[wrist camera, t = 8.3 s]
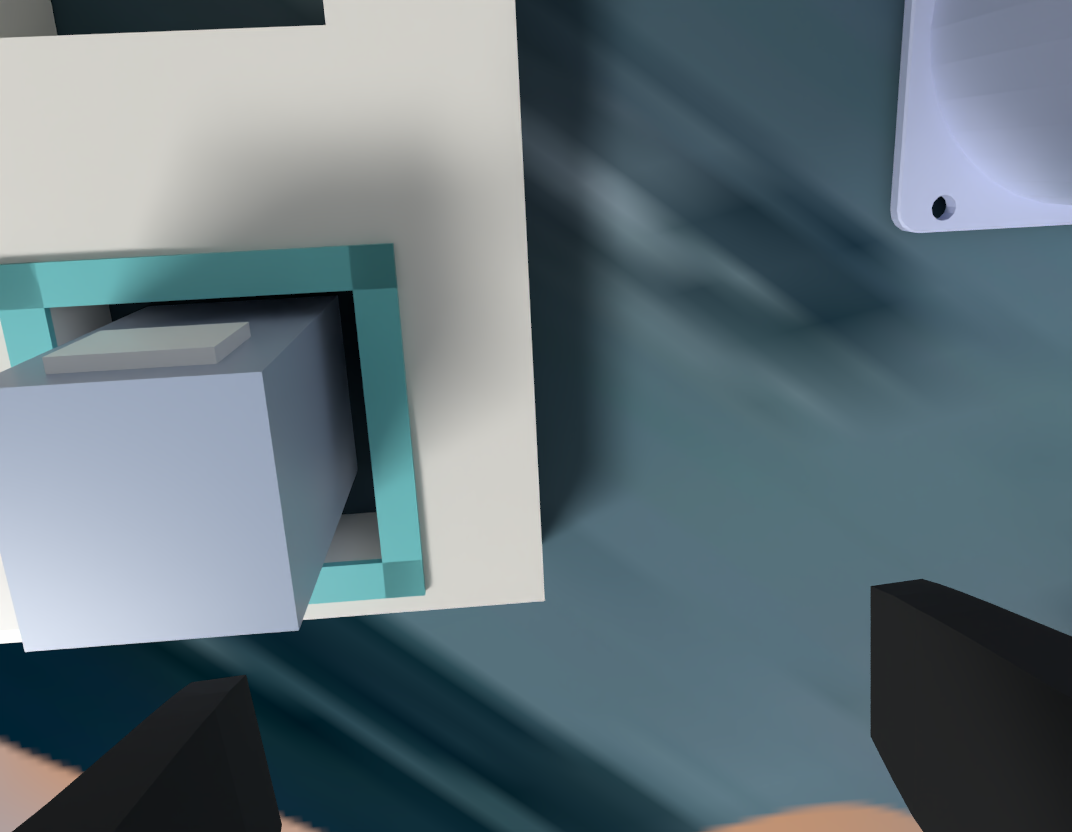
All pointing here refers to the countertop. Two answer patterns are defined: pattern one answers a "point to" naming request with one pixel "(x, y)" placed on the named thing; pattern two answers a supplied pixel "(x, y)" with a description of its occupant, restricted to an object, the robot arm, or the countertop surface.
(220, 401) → the plug
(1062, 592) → the countertop surface
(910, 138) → the robot arm
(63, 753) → the countertop surface
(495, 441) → the panel
